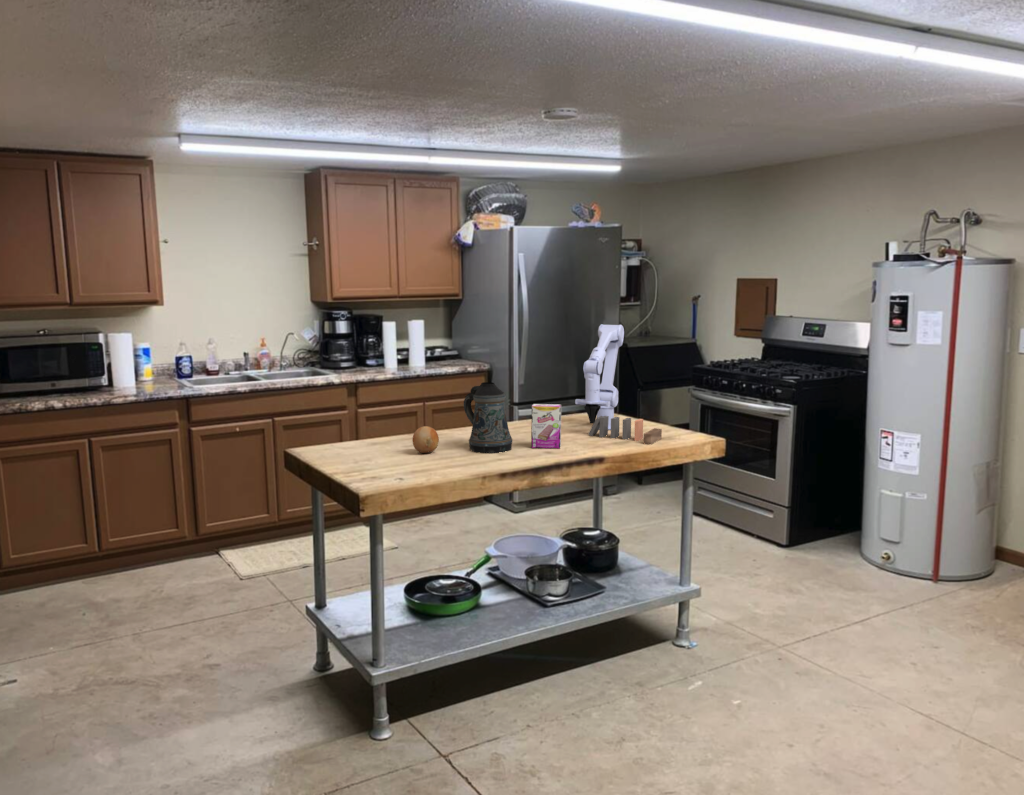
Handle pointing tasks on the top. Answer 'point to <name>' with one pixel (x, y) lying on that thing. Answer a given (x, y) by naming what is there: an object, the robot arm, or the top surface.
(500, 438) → the beer stein
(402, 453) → the top surface
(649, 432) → the end block
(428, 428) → the onion
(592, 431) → the domino
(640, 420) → the domino
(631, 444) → the top surface
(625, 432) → the domino
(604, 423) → the domino
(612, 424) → the domino
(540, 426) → the candy bar box
